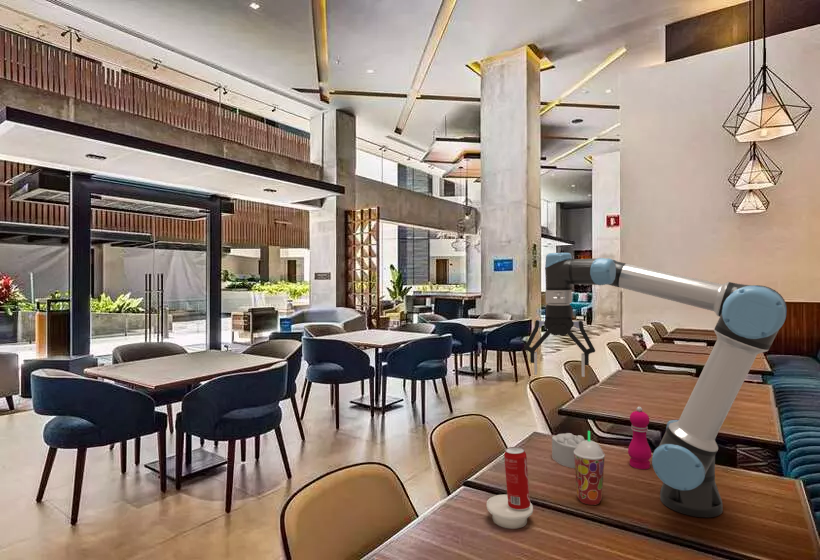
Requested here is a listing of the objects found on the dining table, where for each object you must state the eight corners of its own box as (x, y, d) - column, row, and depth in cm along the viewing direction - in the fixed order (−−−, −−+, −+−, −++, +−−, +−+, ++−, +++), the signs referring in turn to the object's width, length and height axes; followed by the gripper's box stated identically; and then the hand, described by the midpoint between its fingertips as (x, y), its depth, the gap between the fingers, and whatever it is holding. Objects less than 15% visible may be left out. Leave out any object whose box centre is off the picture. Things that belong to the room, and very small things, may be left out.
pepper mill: (655, 470, 159) (655, 409, 159) (633, 470, 159) (633, 409, 159) (645, 461, 166) (645, 403, 166) (624, 461, 166) (624, 403, 166)
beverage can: (531, 512, 124) (530, 454, 123) (506, 511, 124) (505, 453, 124) (528, 501, 130) (527, 445, 129) (504, 500, 130) (503, 445, 130)
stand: (533, 511, 132) (533, 497, 132) (531, 534, 120) (531, 518, 120) (489, 506, 135) (489, 492, 135) (483, 527, 124) (483, 512, 124)
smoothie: (582, 491, 144) (581, 424, 144) (610, 500, 138) (609, 431, 138) (568, 500, 138) (568, 431, 138) (597, 510, 132) (596, 438, 132)
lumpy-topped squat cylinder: (574, 453, 175) (574, 429, 175) (595, 467, 162) (595, 441, 162) (548, 456, 172) (548, 431, 172) (567, 470, 160) (567, 444, 160)
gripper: (515, 304, 145) (515, 375, 145) (604, 305, 137) (604, 379, 138) (517, 303, 152) (517, 370, 152) (602, 303, 145) (602, 374, 145)
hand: (559, 375), depth 145 cm, fingers open, 13 cm apart
